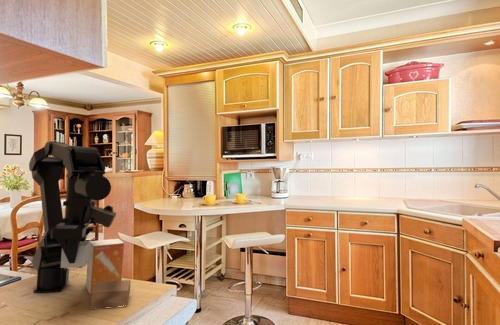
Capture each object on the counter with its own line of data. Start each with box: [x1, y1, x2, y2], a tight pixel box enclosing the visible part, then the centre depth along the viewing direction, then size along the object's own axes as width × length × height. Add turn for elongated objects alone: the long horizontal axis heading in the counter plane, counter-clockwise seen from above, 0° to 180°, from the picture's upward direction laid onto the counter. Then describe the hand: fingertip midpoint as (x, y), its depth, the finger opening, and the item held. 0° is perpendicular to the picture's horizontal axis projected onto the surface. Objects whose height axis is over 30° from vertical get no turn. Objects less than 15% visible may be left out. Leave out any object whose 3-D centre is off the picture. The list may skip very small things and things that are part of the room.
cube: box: [61, 240, 91, 269], centre depth 73 cm, size 5×5×5 cm
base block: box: [90, 279, 131, 310], centre depth 75 cm, size 8×7×4 cm
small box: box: [85, 238, 125, 295], centre depth 84 cm, size 8×6×13 cm
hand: (75, 259), depth 73 cm, fingers closed on cube, 5 cm apart
